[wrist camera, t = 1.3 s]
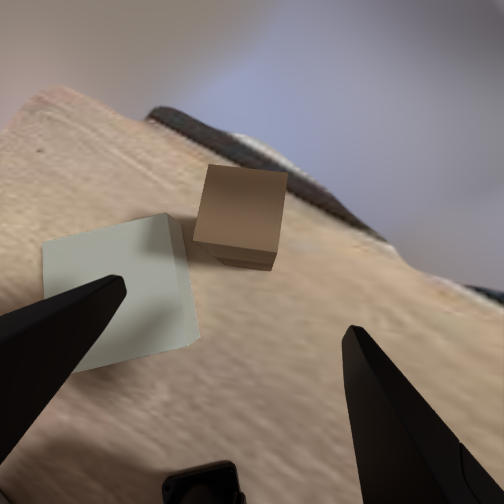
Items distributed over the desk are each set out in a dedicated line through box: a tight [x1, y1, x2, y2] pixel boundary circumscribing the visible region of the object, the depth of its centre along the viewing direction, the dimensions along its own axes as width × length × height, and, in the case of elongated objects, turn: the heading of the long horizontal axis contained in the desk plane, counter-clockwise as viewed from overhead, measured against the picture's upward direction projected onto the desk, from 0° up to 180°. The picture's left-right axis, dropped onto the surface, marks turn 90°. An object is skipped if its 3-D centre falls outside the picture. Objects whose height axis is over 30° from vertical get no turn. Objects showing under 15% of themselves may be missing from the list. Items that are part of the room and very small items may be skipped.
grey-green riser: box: [42, 213, 200, 374], centre depth 21 cm, size 12×12×4 cm
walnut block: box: [192, 164, 288, 271], centre depth 18 cm, size 5×5×10 cm
